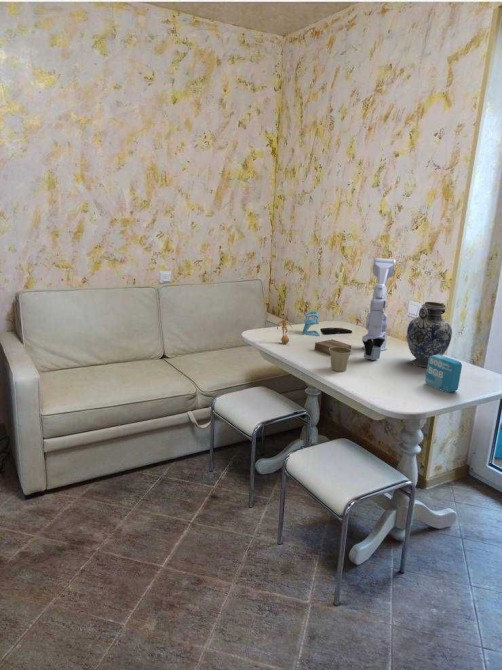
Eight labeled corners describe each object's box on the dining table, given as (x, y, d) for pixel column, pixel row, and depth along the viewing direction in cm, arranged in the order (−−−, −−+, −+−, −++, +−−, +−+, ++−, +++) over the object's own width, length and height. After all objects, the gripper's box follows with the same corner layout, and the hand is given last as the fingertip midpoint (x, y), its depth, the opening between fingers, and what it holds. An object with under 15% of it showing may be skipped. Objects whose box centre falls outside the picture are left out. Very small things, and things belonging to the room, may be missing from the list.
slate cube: (370, 355, 221) (371, 344, 220) (379, 358, 218) (380, 347, 216) (363, 357, 218) (364, 346, 217) (372, 360, 215) (374, 349, 213)
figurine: (278, 345, 233) (280, 321, 230) (273, 341, 238) (275, 318, 235) (294, 344, 236) (296, 320, 233) (289, 340, 241) (290, 317, 238)
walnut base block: (331, 347, 236) (332, 339, 235) (350, 353, 227) (351, 345, 226) (314, 350, 229) (315, 342, 228) (333, 357, 220) (334, 349, 219)
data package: (424, 383, 192) (429, 354, 189) (432, 381, 194) (436, 353, 191) (449, 393, 182) (455, 363, 179) (457, 392, 184) (462, 362, 181)
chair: (301, 332, 260) (302, 310, 257) (316, 332, 261) (317, 310, 258) (304, 335, 253) (305, 313, 250) (319, 336, 254) (321, 313, 251)
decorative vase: (416, 354, 229) (425, 297, 222) (454, 365, 217) (465, 304, 209) (393, 363, 215) (402, 301, 207) (432, 375, 202) (444, 310, 195)
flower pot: (322, 366, 205) (324, 347, 203) (341, 364, 209) (343, 345, 206) (334, 374, 197) (336, 353, 194) (353, 372, 200) (356, 352, 198)
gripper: (372, 329, 207) (369, 359, 210) (392, 325, 216) (388, 354, 219) (359, 325, 212) (356, 354, 215) (379, 321, 221) (376, 350, 224)
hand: (372, 354), depth 218 cm, fingers closed on slate cube, 5 cm apart
